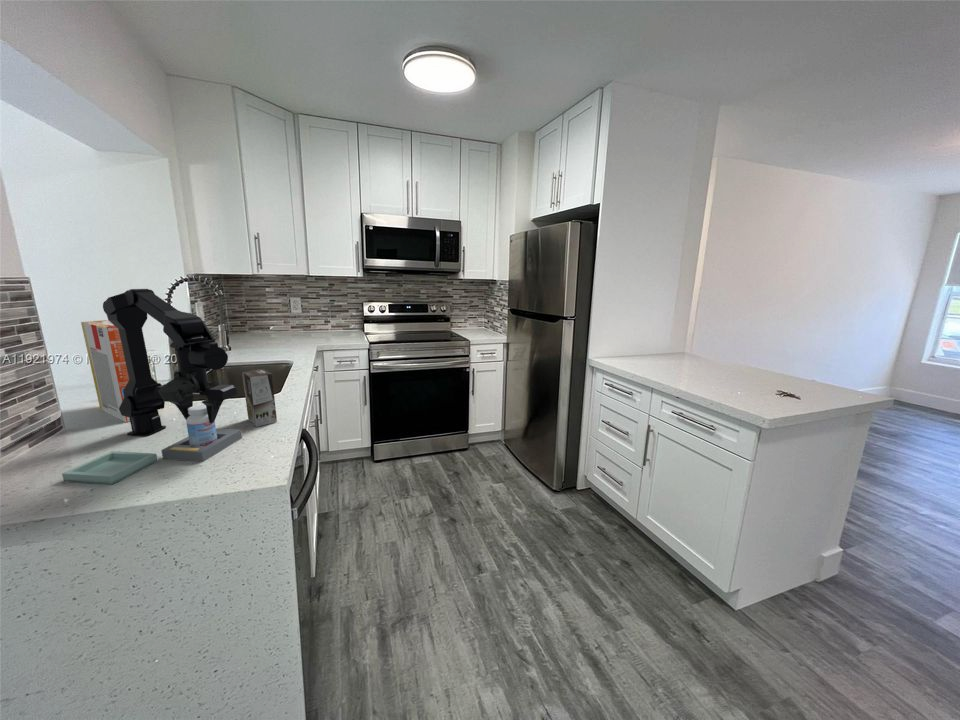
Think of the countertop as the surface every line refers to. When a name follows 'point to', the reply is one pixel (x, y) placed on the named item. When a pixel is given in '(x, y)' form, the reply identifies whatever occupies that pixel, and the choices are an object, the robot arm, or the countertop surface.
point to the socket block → (201, 447)
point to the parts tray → (110, 467)
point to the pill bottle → (200, 426)
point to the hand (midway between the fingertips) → (200, 422)
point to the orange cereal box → (107, 365)
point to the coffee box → (259, 397)
